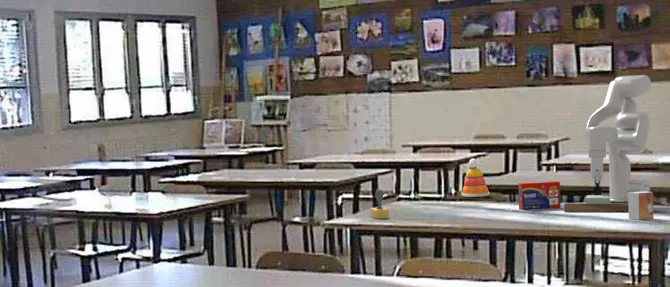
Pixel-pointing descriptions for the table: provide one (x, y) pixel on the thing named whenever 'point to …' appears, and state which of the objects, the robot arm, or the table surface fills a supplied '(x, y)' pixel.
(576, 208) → the walnut board
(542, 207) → the toy box
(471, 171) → the stacking toy
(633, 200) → the small box
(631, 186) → the ink box
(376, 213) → the rubber stamp
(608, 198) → the green block
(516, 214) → the table surface
